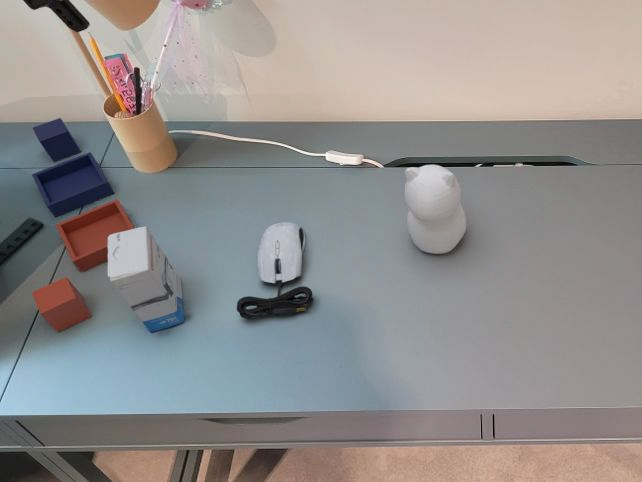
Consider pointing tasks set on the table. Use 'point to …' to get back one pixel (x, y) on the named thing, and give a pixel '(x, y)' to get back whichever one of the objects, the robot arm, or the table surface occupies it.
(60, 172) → the navy tray
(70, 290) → the terracotta block
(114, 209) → the terracotta tray
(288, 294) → the computer mouse
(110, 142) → the table surface
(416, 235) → the cat figurine
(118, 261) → the ink box
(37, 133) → the navy block
